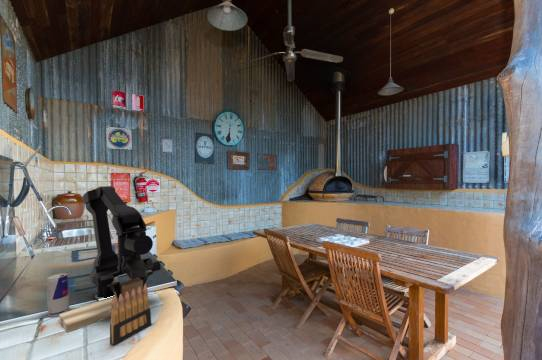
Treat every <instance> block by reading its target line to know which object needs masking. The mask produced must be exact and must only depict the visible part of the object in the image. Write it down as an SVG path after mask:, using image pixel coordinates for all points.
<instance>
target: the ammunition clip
mask: <svg viewBox="0 0 542 360" xmlns="http://www.w3.org/2000/svg"><path fill="white" fill-rule="evenodd" d="M111 306H112V308H111V316H110V324H109V345H111V346H114V345H115V346H117V345H119V344H120V343H123V342H124V341H126V340H127V339H130V338H131V337H133V336H135V335H137V334H138V333H140V332H141V331H144V330H146V329H147V328H149V327H151V326H152V312H151V307H150V299H149V293H148V287H147V284H146V283H145V285H144V288H143V299H142V291H141V288H140V287H139V288H138V291H137V302H136V294H135V290H134V289H133V290H132V293H131V305H130V297H129V293H128V292H126V295H125V307H124V304H123V297H122V295H121V294H120V296H119V300H118V311H117V303H116V299H115V297H113V299H112V305H111Z"/></svg>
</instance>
